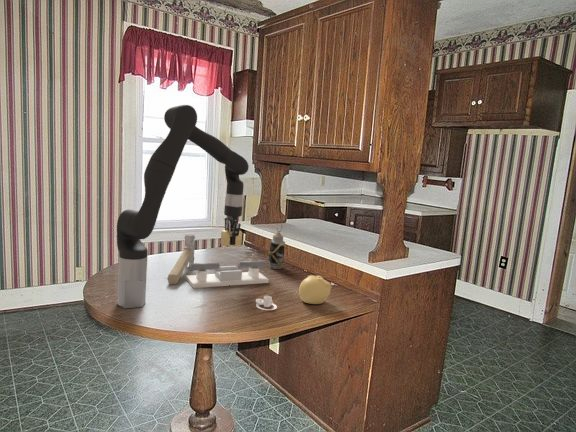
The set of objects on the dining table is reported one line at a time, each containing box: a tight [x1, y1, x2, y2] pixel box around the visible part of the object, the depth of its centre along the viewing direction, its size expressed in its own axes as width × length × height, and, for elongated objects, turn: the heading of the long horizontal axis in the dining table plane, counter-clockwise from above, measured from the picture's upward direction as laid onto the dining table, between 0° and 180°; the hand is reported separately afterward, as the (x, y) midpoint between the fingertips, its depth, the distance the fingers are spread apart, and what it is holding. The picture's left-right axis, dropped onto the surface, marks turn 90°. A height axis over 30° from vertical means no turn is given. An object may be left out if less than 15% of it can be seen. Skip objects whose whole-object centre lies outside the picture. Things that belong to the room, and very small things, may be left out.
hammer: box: [166, 232, 196, 285], centre depth 182 cm, size 16×5×30 cm
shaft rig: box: [185, 260, 270, 289], centre depth 180 cm, size 12×34×8 cm, turn 118°
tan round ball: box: [298, 274, 332, 305], centre depth 164 cm, size 11×12×11 cm
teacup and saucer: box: [255, 295, 278, 311], centre depth 156 cm, size 9×8×4 cm
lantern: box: [267, 218, 286, 270], centre depth 207 cm, size 9×8×25 cm
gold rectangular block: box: [219, 229, 243, 247], centre depth 177 cm, size 4×8×6 cm, turn 118°
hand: (230, 243), depth 178 cm, fingers closed on gold rectangular block, 4 cm apart
